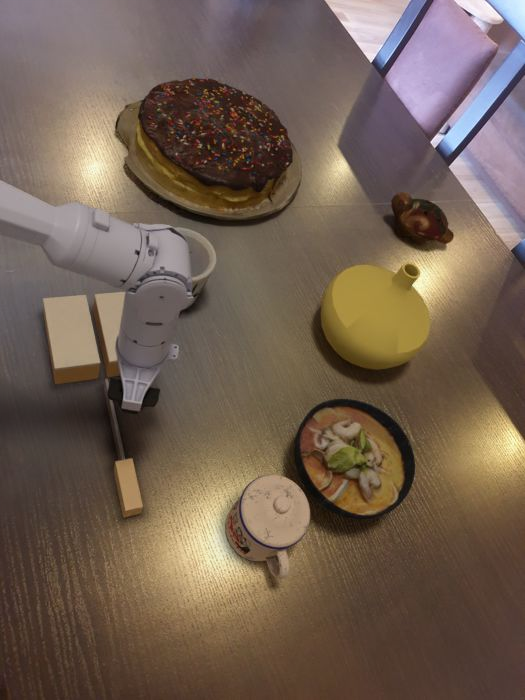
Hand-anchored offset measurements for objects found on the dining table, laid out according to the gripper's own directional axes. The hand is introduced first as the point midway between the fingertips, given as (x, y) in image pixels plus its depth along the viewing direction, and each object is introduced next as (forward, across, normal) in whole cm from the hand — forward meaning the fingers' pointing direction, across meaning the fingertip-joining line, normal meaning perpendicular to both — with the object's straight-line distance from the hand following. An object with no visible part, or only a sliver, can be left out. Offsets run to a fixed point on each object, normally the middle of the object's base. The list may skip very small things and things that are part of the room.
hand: (134, 383), depth 71 cm
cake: (+10, +58, -6) cm, 60 cm away
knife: (+10, -5, 0) cm, 11 cm away
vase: (+10, +22, -36) cm, 43 cm away
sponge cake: (+10, +11, +6) cm, 16 cm away
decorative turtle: (+10, +52, -50) cm, 73 cm away
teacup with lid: (+10, -15, -20) cm, 27 cm away
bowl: (+10, -4, -31) cm, 33 cm away
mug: (+10, +24, -2) cm, 26 cm away
